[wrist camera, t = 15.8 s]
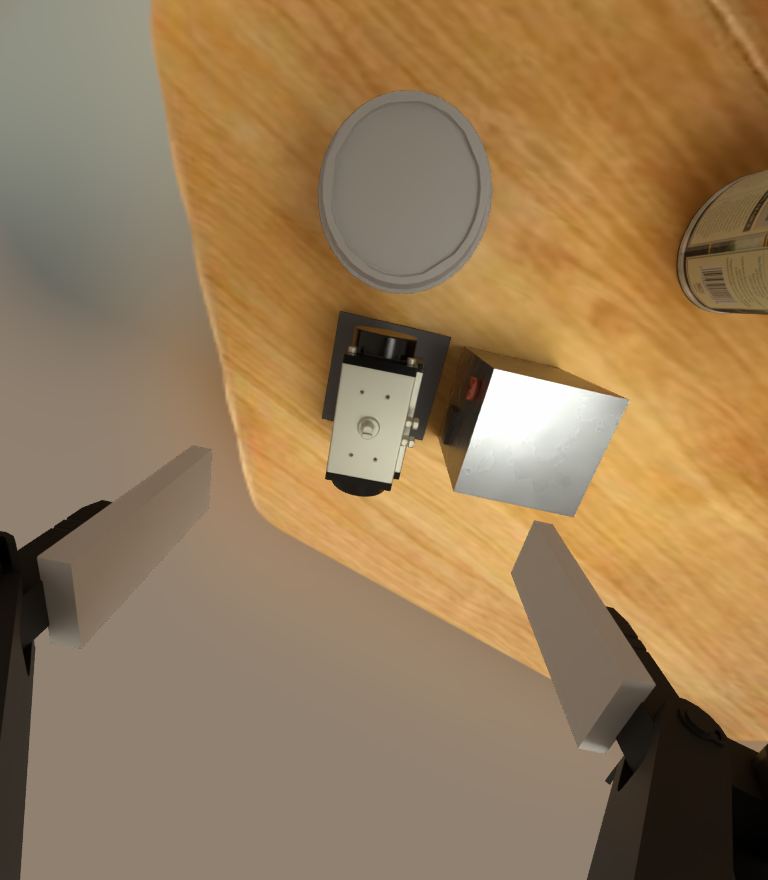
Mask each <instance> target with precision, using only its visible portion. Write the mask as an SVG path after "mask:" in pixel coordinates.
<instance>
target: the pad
mask: <svg viewBox="0 0 768 880" xmlns="http://www.w3.org/2000/svg"><path fill="white" fill-rule="evenodd" d="M356 326H368V327H375V328H381V329H387V330H391V331H396V332H400V333H404V334H407V335H411V336H413V337H416V338H417V339H418V342H417V346H416V351H415V355H414V356H418V357H423V360H424V362H425V369H424V373H423V377H422V382H421V386H420V390H419V395H418V399H417V403H416V407H415V412H414V416H413V420H414V418H418V419H419V424H418V428H417V430H414V429H412V426H411V429H410V433H409V437H410V436H413V437H415V439H418V440H423V437H424V433H425V429H426V426H427V422H428V419H429V415H430V412H431V408H432V404H433V401H434V397H435V394H436V390H437V386H438V383H439V379H440V376H441V372H442V369H443V365H444V361H445V358H446V354H447V351H448V347H449V344H450V340H451V337H448V336H444V335H440V334H436V333H431V332H427V331H423V330H419V329H414V328H410V327H406V326H401V325H397V324H393V323H389V322H384V321H380V320H376V319H372V318H367V317H363V316H359V315H354V314H350V313H346V312H342V311H340V313H339V319H338V325H337V331H336V337H335V343H334V349H333V355H332V361H331V367H330V373H329V379H328V385H327V391H326V397H325V403H324V409H323V415H322V419H327V420H331V421H334V416H335V409H336V402H337V395H338V389H339V382H340V375H341V369H342V362H343V355H344V353H345V351H346V350H347V349H348V348H349V346H351V345H352V343H353V337H354V330H355V327H356ZM413 420H412V421H413Z"/></svg>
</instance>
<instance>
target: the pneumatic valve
mask: <svg viewBox="0 0 768 880" xmlns="http://www.w3.org/2000/svg"><path fill="white" fill-rule="evenodd" d="M417 342H418V339H417V338H416V337H413V336H411V335H407V334H404V333H400V332H396V331H391V330H387V329H381V328H375V327H368V326H356V327H355V330H354V337H353V343H352V345H351V346H349V348H348V349H347V350H346V351H345V353H344V355H343V362H342V369H341V375H340V382H339V389H338V395H337V402H336V409H335V416H334V422H333V429H332V436H331V443H330V449H329V456H328V463H327V469H326V476H325V479H327V480H332V482H333V484H334V485H335V486H336V487H337V488H338V489H339V490H341V491H343V492H345V493H348V494H351V495H355V496H363V497H368V496H375V495H378V494H380V493H382V492H383V491H384V490H387V491H391V486H392V482H393V479H399V477H400V472H401V468H402V464H403V459H404V455H405V451H406V446H407V444H408V447H410V448H413V445H414V440H415V437H413V436H410V437H409V433H410V429H411V426H412V429H414V430H417V428H418V424H419V419H418V418H414V420H413V416H414V412H415V407H416V403H417V399H418V395H419V390H420V386H421V382H422V377H423V373H424V369H425V362H424V360H423V357H418V356H414V355H415V351H416V346H417ZM412 420H413V421H412ZM408 438H409V439H408Z"/></svg>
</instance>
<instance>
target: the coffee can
mask: <svg viewBox="0 0 768 880" xmlns="http://www.w3.org/2000/svg"><path fill="white" fill-rule="evenodd" d="M678 276H679V280H680V283H681V286H682V289H683V291H684V292H685V294H686V295H687V297H688V298H689V299H690V300H691V301H692V302H693V303H694V304H695V305H697V306H698V307H700V308H701V309H704V310H707V311H710V312H713V313H722V314H728V313H743V314H764V315H768V170H765V171H762V172H759V173H754V174H750V175H747V176H744V177H741V178H739V179H737V180H735V181H733V182H732V183H730V184H728V185H726V186H725V187H723V188H722V189H720V190H719V191H718V192H717V193H715V194H714V195H713V196H712V197H711V198H710V199H709V200H708V201H707V202H706V203H705V204H704V205H703V206H702V207H701V208H700V210H699V211H698V212H697V214H696V215H695V216H694V218H693V219H692V220H691V222H690V225H689V227H688V228H687V230H686V232H685V234H684V237H683V240H682V242H681V245H680V250H679V254H678Z"/></svg>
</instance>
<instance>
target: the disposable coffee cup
mask: <svg viewBox="0 0 768 880" xmlns="http://www.w3.org/2000/svg"><path fill="white" fill-rule="evenodd" d="M491 199H492V182H491V170H490V165H489V161H488V157H487V153H486V151H485V149H484V146H483V144H482V141H481V139H480V137H479V135H478V134H477V132H476V131H475V129H474V128H473V126H472V124H471V123H470V122H469V121H468V120H467V119H466V117H465V116H464V115H463V114H462V113H461V112H460V111H459V110H458V109H457V108H455V107H454V106H452V105H451V104H449V103H447V102H446V101H445V100H443V99H441V98H439V97H438V96H435V95H431V94H428V93H425V92H422V91H403V90H400V91H393V92H390V93H388V94H383V95H380V96H378V97H376V98H374V99H372V100H370V101H368V102H366V103H365V104H363V105H361V106H360V107H359V108H358V109H357V110H356V111H354V112H353V113H352V114H351V115H350V116H349V117H348V118H347V119H346V120H345V121H344V122H343V124H342V125H341V126H340V128H339V129H338V131H337V132H336V134H335V135H334V136H333V138H332V140H331V143H330V145H329V147H328V149H327V151H326V153H325V156H324V160H323V163H322V167H321V171H320V177H319V186H318V202H319V213H320V219H321V223H322V226H323V230H324V233H325V235H326V238H327V240H328V242H329V245H330V247H331V249H332V250H333V252H334V253H335V255H336V256H337V258H338V259H339V261H340V262H341V263H342V264H343V265H344V266H345V268H346V269H347V270H348V271H349V272H350V273H351V274H352V275H353V276H355V277H356V278H358V279H359V280H361V281H362V282H364V283H365V284H367V285H369V286H371V287H374V288H376V289H379V290H381V291H385V292H390V293H415V292H420V291H424V290H428V289H430V288H432V287H435V286H437V285H439V284H441V283H442V282H444V281H445V280H447V279H449V278H450V277H452V276H453V275H454V274H455V273H456V272H457V271H458V270H460V269H461V267H462V266H463V265H464V264H465V263H466V262H467V261H468V260H469V258H470V257H471V255H472V254H473V252H474V251H475V249H476V248H477V246H478V244H479V242H480V240H481V238H482V236H483V233H484V231H485V228H486V226H487V222H488V217H489V213H490V209H491Z"/></svg>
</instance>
